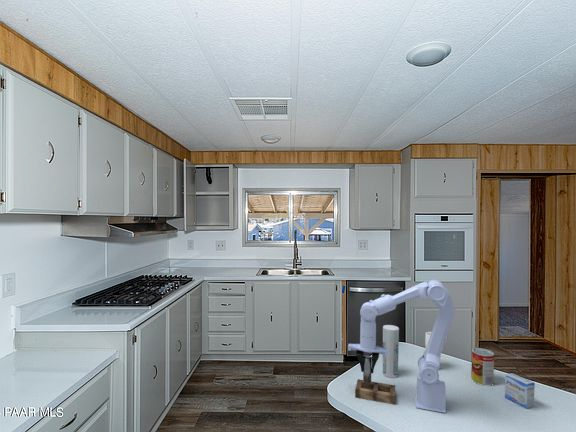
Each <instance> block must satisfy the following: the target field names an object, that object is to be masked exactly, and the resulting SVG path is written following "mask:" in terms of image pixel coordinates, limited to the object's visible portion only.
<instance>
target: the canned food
mask: <svg viewBox="0 0 576 432" xmlns="http://www.w3.org/2000/svg"><path fill="white" fill-rule="evenodd" d="M494 373H495V353H494V352H493V351H491V350H489V349H485V348H481V347H475V348H472V349H471V375H470V376H471V378H472V379H471V381H472V380H473V381H472V382H473V383H475V382H476V384H477V383H479V384H478V385H480V384H482V385H481V386H484V385H491V386H493V385H494V384H493V383H494V382H495V381H494V380H495V379H494V378H495V374H494ZM492 384H493V385H492Z"/></svg>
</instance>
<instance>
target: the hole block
mask: <svg viewBox="0 0 576 432" xmlns="http://www.w3.org/2000/svg"><path fill="white" fill-rule="evenodd" d="M354 393H355V394H354V395H355V396H354V397H355V398H357V399H360V400H361V399H362V400H367V401H374V402H380V403H383V404H384V403H385V404H389V405H396V385H395V384H390V383H383V382H378V381H372V380H371V383H365V382H364V381H363V379H357V381H356V384H355V391H354Z"/></svg>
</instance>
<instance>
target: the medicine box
mask: <svg viewBox="0 0 576 432" xmlns="http://www.w3.org/2000/svg"><path fill="white" fill-rule="evenodd" d="M504 376H505V378H504V381H505V382H504V398H505V399H507V400H508V401H511V402H513V404H516V405H519V406H521V407H523V408H525V409H530V408H533V407H535V385H536V384H535V382H533V381H531V380H529V379H526V378H525V377H522V376H520V375H517V374H516V373H514V372H512V373H507V374H505V375H504Z"/></svg>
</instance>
